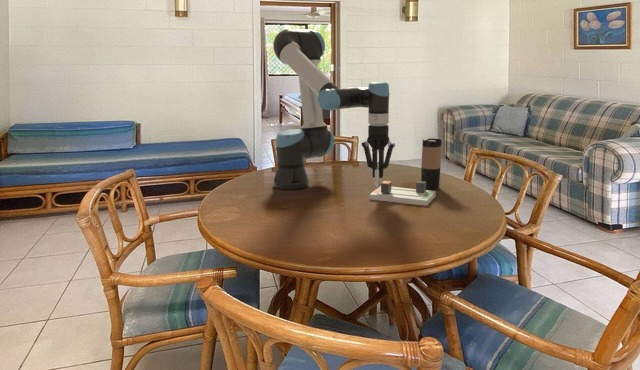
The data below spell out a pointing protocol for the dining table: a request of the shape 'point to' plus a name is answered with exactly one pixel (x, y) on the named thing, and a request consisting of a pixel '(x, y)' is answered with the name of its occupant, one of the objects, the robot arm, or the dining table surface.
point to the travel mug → (431, 163)
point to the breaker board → (406, 195)
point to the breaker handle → (386, 187)
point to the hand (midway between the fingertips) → (377, 185)
